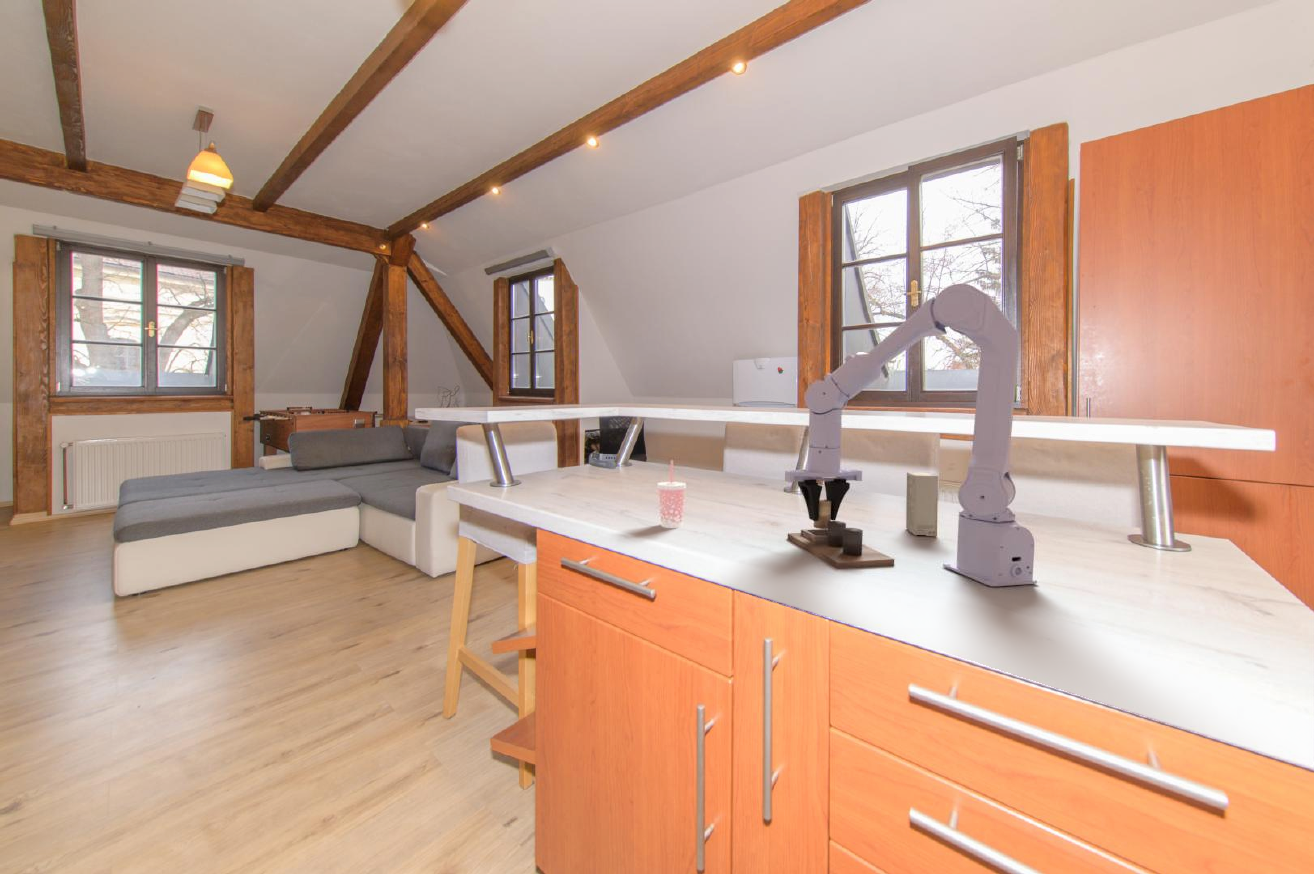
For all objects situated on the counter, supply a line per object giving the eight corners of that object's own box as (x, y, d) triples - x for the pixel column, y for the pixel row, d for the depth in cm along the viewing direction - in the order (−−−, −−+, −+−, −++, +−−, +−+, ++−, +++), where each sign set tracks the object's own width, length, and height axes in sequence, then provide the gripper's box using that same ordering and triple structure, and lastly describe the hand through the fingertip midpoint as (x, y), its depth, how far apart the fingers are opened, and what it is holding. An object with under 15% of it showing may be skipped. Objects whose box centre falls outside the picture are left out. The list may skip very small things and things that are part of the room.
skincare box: (937, 537, 98) (940, 476, 97) (913, 536, 99) (915, 475, 98) (927, 529, 104) (929, 472, 104) (904, 528, 105) (906, 471, 104)
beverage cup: (686, 529, 103) (686, 462, 103) (656, 528, 104) (657, 461, 103) (685, 522, 110) (685, 458, 109) (657, 521, 110) (657, 458, 109)
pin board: (894, 565, 81) (895, 534, 80) (837, 568, 79) (838, 537, 78) (834, 536, 98) (835, 511, 98) (787, 538, 96) (788, 513, 96)
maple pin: (833, 528, 92) (834, 501, 92) (818, 529, 92) (819, 502, 91) (825, 524, 95) (825, 498, 95) (810, 525, 94) (811, 499, 94)
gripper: (848, 445, 98) (845, 513, 98) (778, 445, 95) (777, 516, 96) (869, 448, 91) (867, 521, 91) (795, 448, 88) (793, 524, 89)
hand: (822, 519), depth 93 cm, fingers closed on maple pin, 3 cm apart
